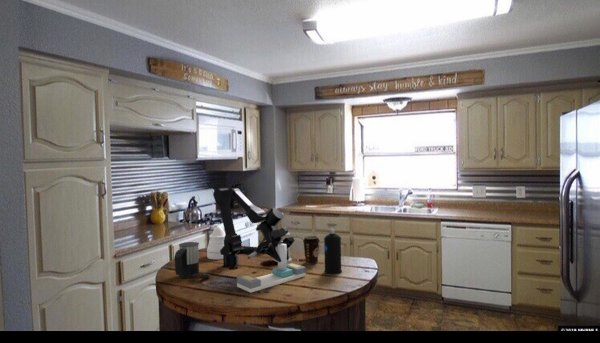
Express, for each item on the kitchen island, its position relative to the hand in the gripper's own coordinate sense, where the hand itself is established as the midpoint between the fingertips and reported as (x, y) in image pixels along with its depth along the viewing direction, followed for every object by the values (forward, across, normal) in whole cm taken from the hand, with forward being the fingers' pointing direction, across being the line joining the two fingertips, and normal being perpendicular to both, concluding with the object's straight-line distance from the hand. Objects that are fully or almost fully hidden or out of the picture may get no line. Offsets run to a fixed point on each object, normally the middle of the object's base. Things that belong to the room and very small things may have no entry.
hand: (284, 260), depth 161 cm
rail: (+5, -5, +7) cm, 10 cm away
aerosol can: (+12, +23, 0) cm, 26 cm away
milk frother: (-16, -27, +28) cm, 42 cm away
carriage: (+3, 0, +5) cm, 6 cm away
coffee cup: (-1, +26, +13) cm, 29 cm away
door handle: (-27, +14, +40) cm, 50 cm away
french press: (-12, +19, +24) cm, 33 cm away
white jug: (-34, -1, +46) cm, 57 cm away
